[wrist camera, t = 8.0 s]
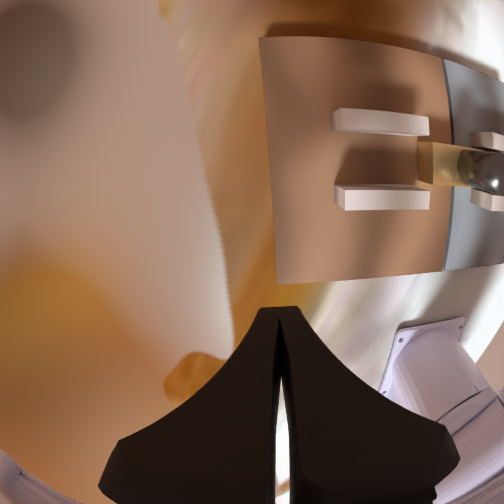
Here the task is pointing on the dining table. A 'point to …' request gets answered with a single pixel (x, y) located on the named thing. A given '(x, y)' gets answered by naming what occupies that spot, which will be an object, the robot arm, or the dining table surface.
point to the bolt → (460, 167)
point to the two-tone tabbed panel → (375, 160)
